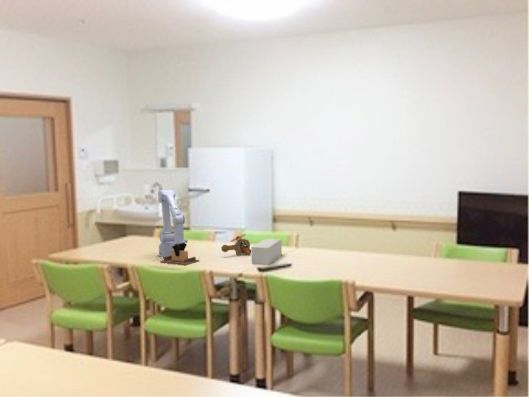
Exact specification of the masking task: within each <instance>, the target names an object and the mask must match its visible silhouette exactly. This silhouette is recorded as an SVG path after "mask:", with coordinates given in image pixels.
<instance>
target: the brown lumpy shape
mask: <svg viewBox="0 0 529 397" xmlns="http://www.w3.org/2000/svg"><path fill="white" fill-rule="evenodd" d="M245 236H246V234H242V235H237V236H236V237H235V238H233V239H231V240H230V243H233V242H234V241H236V242H235V244H231V245H228V244H222V246H221V249H220V250H221V252H223V253H227V252H229V251H235V254H236V256H238V257H239V256H240V255H245V256H250V255H252V248H250V247H251V243H250V241H249V240H248V239H247V238H243V237H245Z"/></svg>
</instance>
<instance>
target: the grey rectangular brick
mask: <svg viewBox="0 0 529 397" xmlns="http://www.w3.org/2000/svg"><path fill="white" fill-rule="evenodd" d="M250 247H251V248H250V249H251V265H264V266H269V265H270V264H272V263H273V262H274V261H275V260H277V259H278V258H279V257H281V256H282V255H283V254H282V247H283V246H282V239H281V238H264V239H263V240H261V241H259V242H258V243H255V244H254V245H253V246H250Z"/></svg>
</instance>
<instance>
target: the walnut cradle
mask: <svg viewBox="0 0 529 397" xmlns="http://www.w3.org/2000/svg"><path fill="white" fill-rule="evenodd" d="M198 262H200V259H197V258H196V256H191V257H188V259H185V260H184V261H176V260H172V255H170V256H167V257H163V260H160V261H159V263H162V264H169V265H178V266H185V267H186V266H189V265H191V264H194V263H198Z"/></svg>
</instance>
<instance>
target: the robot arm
mask: <svg viewBox="0 0 529 397" xmlns="http://www.w3.org/2000/svg"><path fill="white" fill-rule="evenodd" d="M175 198H176V191H175V189H173V188H172V189H160V190H159V191H158V203H160V204H161V213H162V224H163V228H162V229H161V230H160V231H159V240H160V243H159V244H158V257H162V258H164V257H167V256H170V255H172V250H174V252H175V255H176V256H179V250H183V251H186V250H185V249H186V248H187V244H188V239H186V238H185V237H184V224H185V223H186V222H185V221H186V218H185V215H184V214H183V213H182V212H181V210H180V208H179V206H177V203H176V201H175ZM171 217H172V219H171ZM171 220H172V223H171ZM172 226H173V228H172Z"/></svg>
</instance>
